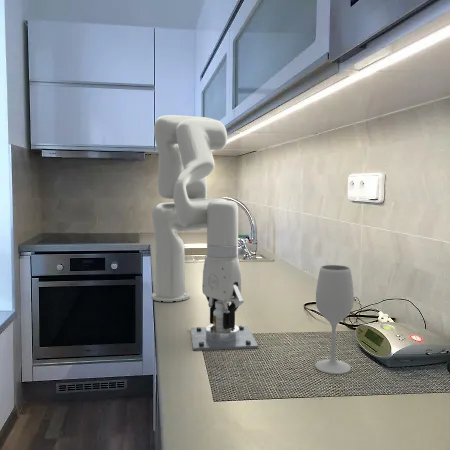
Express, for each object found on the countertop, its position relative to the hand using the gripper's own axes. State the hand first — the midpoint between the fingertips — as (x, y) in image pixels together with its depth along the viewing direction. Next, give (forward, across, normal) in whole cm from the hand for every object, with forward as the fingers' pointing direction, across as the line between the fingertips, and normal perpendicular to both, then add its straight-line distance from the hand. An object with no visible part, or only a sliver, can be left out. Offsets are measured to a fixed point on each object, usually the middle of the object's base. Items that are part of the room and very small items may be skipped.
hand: (222, 324), depth 114 cm
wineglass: (+4, +28, +7) cm, 29 cm away
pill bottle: (+2, 0, 0) cm, 2 cm away
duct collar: (+3, 0, 0) cm, 3 cm away
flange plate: (+3, 0, 0) cm, 3 cm away
